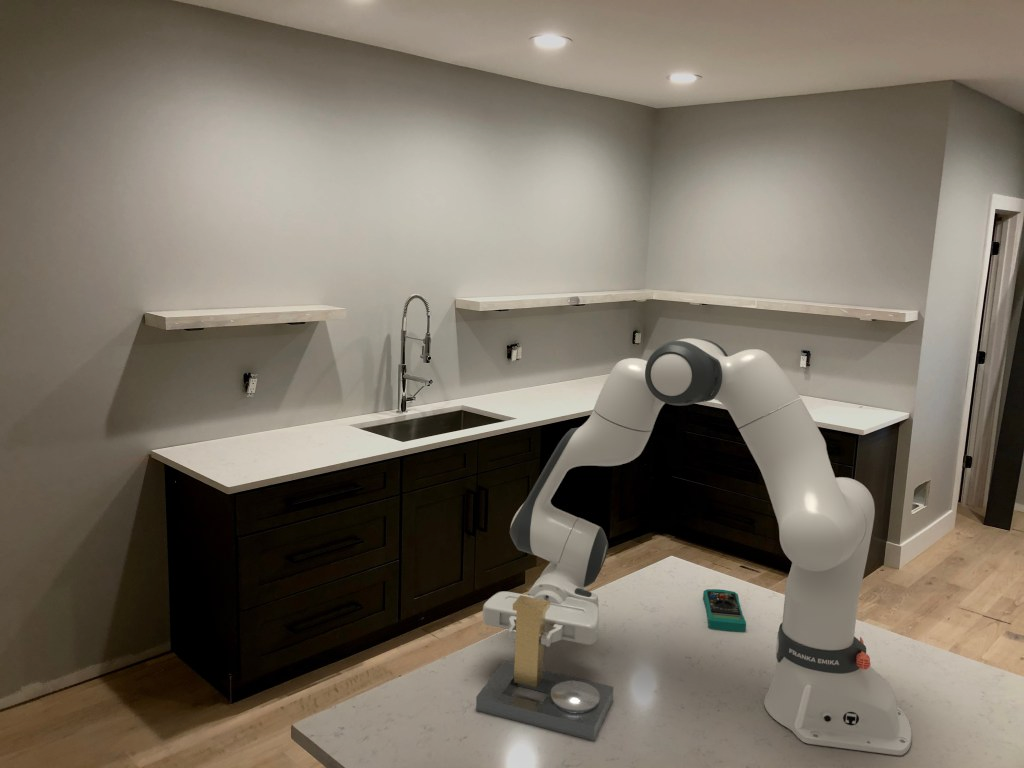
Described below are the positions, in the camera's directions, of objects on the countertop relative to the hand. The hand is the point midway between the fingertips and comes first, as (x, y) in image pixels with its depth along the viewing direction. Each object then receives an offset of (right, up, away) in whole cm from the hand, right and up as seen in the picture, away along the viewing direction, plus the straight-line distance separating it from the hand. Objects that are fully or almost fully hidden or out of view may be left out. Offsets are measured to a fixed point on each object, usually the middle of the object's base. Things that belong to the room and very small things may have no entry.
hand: (528, 638), depth 131 cm
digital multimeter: (+41, -7, +36) cm, 55 cm away
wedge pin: (0, -8, +2) cm, 8 cm away
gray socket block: (+3, -12, +2) cm, 12 cm away
